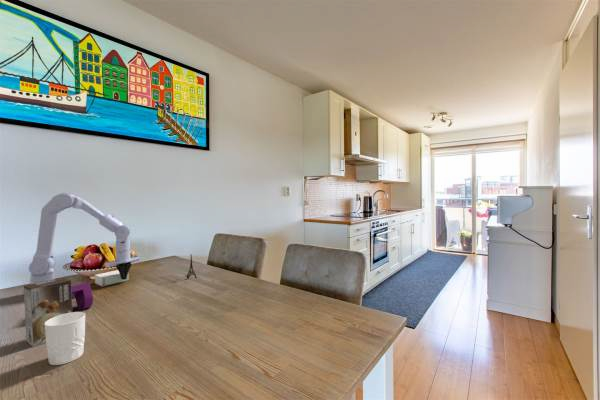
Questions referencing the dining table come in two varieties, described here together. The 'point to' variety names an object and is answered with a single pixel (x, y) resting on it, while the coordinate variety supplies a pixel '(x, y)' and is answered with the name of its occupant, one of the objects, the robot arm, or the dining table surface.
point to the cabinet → (108, 274)
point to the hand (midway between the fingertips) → (123, 279)
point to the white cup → (65, 337)
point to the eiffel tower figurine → (190, 269)
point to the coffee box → (45, 306)
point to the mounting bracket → (82, 295)
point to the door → (113, 280)
